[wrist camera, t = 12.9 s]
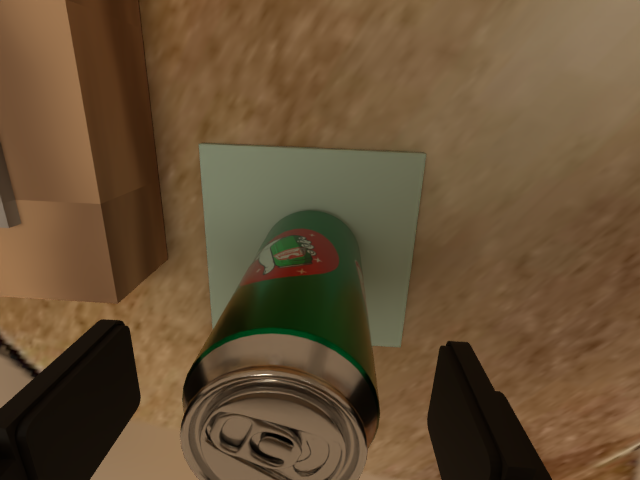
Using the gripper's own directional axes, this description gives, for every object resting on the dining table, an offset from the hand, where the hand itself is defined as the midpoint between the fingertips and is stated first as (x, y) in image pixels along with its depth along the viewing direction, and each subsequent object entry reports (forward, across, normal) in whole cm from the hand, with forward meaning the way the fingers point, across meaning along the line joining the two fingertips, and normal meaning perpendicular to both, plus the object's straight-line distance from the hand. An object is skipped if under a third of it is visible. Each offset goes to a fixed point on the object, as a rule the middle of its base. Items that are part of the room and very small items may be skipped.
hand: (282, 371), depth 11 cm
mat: (+10, 0, 0) cm, 10 cm away
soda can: (+9, 0, 0) cm, 9 cm away
